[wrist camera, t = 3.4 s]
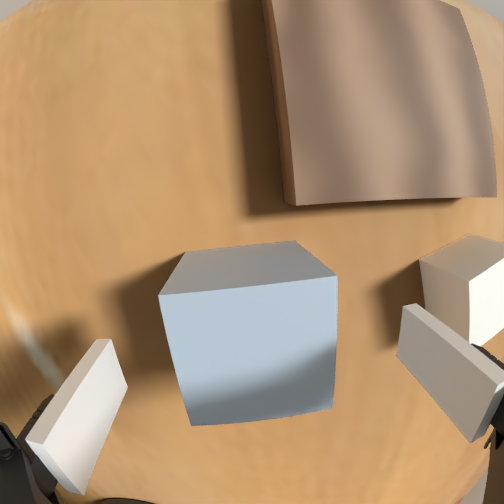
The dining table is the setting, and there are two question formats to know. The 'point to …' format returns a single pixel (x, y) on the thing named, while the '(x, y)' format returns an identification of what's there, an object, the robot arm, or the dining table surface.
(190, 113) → the dining table surface
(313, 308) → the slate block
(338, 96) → the walnut block
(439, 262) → the white cube
